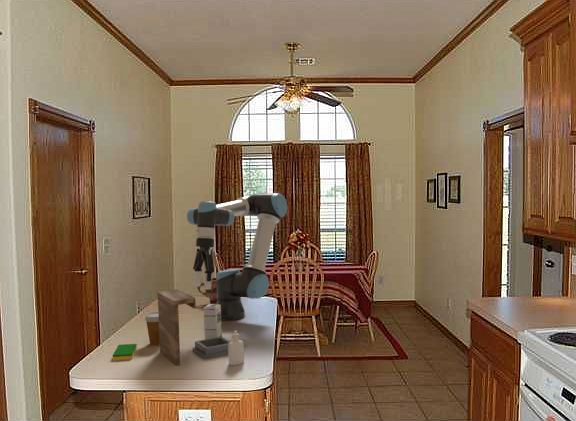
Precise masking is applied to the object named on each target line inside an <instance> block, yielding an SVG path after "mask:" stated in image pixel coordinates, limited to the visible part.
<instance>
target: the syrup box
mask: <svg viewBox="0 0 576 421" xmlns="http://www.w3.org/2000/svg"><path fill="white" fill-rule="evenodd" d="M222 324H223V323H222V320H221V305H220V304H210V303H209V304H207V305H205V306H204V307H203V326H204V340H205V339H211V338H216V337H223V328H222V327H223V325H222Z"/></svg>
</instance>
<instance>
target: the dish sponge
mask: <svg viewBox="0 0 576 421" xmlns="http://www.w3.org/2000/svg"><path fill="white" fill-rule="evenodd" d="M137 349H138V344H137V343H127V344H125V343H124V344H118V345H117V347H116V349H115V351H113V355H112V361H113V362H115V361H123V360H126V361H127V359H129V360H134V357H135V354H136V352H137Z"/></svg>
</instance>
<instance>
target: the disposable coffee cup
mask: <svg viewBox="0 0 576 421" xmlns="http://www.w3.org/2000/svg"><path fill="white" fill-rule="evenodd" d="M144 320H145V322H146V329H147V333H148V340H149V344H150V345H151V346H160V341H159V314H158V311H155V312H150V313H147V314H145V317H144Z"/></svg>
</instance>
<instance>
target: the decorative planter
mask: <svg viewBox="0 0 576 421" xmlns="http://www.w3.org/2000/svg"><path fill="white" fill-rule="evenodd" d="M204 284H205V281H202V282H201V286H200V287H196V288H197V291H198V292H199V293H201V295H203V296H205V297H206V298H208V299H209V304H217V287H216V277H212V281H211V289H204V290H205V292H203V291H201V287H204Z"/></svg>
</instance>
